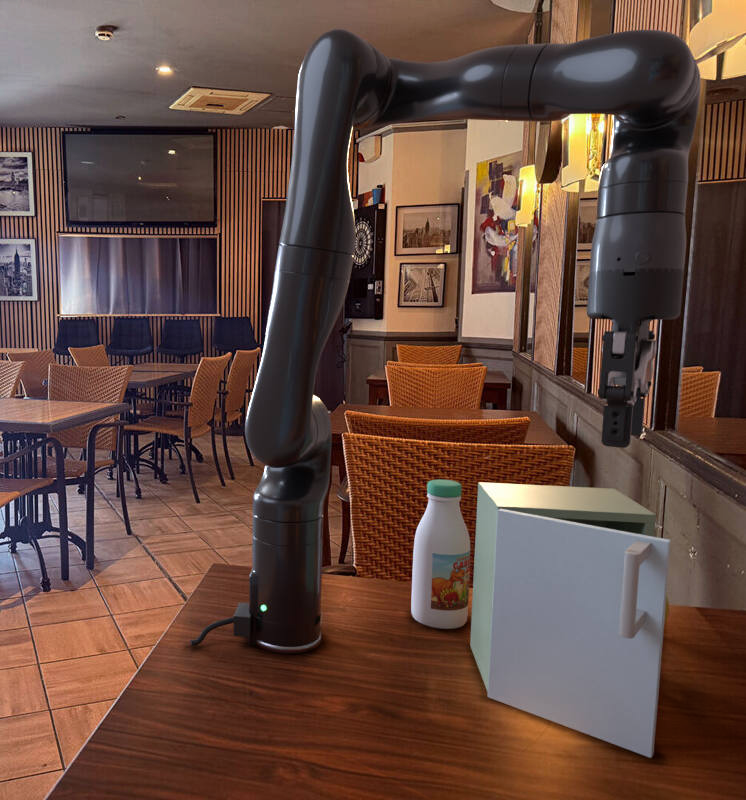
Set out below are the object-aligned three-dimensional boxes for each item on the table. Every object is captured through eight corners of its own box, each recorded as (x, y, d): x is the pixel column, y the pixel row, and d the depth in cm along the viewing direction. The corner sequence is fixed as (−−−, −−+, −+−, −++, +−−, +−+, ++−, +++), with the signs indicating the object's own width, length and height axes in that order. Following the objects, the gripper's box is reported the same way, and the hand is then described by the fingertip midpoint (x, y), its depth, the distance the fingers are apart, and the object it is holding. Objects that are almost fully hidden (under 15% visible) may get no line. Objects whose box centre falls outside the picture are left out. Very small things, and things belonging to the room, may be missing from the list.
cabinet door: (638, 783, 64) (657, 555, 61) (468, 715, 74) (478, 519, 72) (653, 753, 68) (671, 539, 66) (490, 694, 79) (500, 508, 77)
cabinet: (641, 709, 76) (656, 514, 74) (487, 693, 79) (497, 506, 77) (602, 658, 88) (614, 488, 86) (470, 646, 91) (478, 482, 89)
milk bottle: (407, 624, 97) (413, 485, 95) (413, 604, 104) (418, 474, 102) (466, 634, 94) (473, 491, 92) (468, 612, 101) (474, 479, 99)
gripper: (602, 274, 72) (591, 428, 74) (575, 264, 61) (563, 446, 63) (689, 271, 67) (675, 435, 69) (677, 260, 56) (661, 456, 58)
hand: (622, 440), depth 66 cm, fingers open, 8 cm apart
